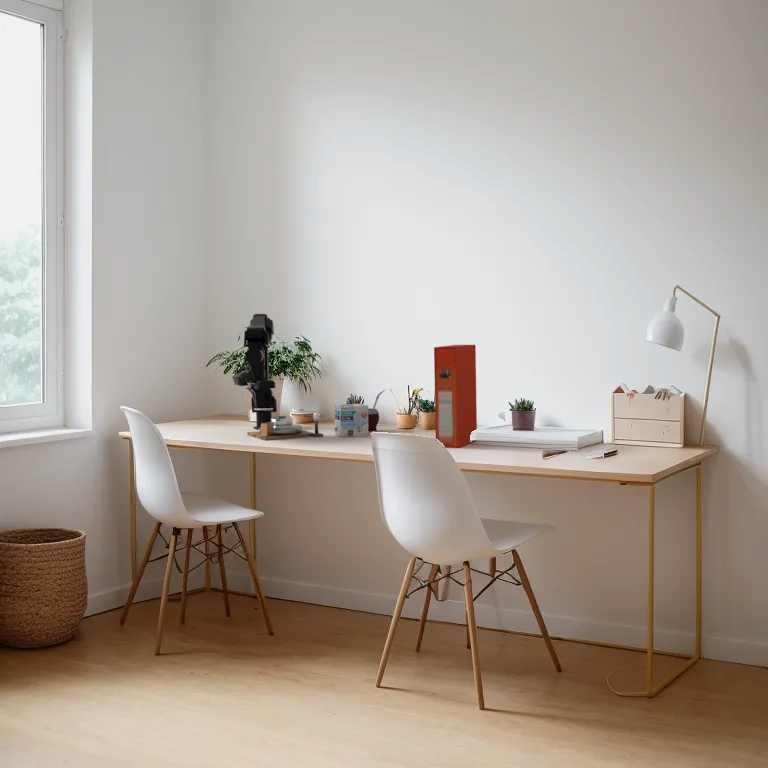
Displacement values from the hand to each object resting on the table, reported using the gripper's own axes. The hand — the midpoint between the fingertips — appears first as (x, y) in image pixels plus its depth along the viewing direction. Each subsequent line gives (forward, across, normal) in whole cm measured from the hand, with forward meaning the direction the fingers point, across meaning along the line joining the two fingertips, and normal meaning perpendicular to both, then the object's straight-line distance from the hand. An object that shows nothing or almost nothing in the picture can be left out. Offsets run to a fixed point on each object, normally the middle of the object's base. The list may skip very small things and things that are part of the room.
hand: (257, 407), depth 347 cm
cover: (+7, +1, +8) cm, 11 cm away
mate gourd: (+10, +9, +40) cm, 42 cm away
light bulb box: (+10, +15, +29) cm, 34 cm away
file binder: (+10, +54, +47) cm, 72 cm away
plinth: (+10, +1, +8) cm, 13 cm away
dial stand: (+10, +10, +17) cm, 22 cm away
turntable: (+9, +2, +7) cm, 11 cm away
